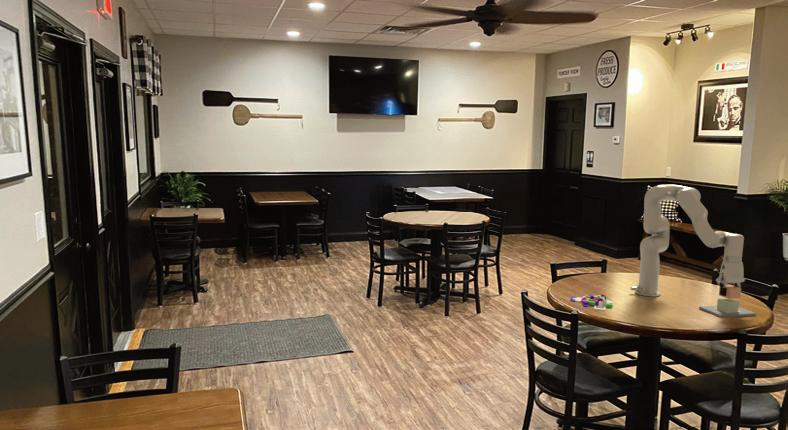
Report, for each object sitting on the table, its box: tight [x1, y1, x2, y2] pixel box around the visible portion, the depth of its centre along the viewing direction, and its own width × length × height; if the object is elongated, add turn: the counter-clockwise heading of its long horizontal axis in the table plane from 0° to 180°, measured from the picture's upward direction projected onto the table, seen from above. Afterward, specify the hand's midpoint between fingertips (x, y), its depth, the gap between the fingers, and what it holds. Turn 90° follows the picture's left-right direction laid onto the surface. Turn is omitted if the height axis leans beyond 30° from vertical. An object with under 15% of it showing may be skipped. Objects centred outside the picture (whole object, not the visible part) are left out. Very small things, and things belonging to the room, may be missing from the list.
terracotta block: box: [718, 284, 742, 300], centre depth 277 cm, size 6×6×5 cm
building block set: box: [569, 293, 614, 312], centre depth 291 cm, size 25×20×4 cm
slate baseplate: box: [698, 305, 757, 318], centre depth 278 cm, size 20×14×1 cm
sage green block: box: [716, 297, 740, 312], centre depth 278 cm, size 6×6×5 cm
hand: (729, 294), depth 277 cm, fingers closed on terracotta block, 6 cm apart
